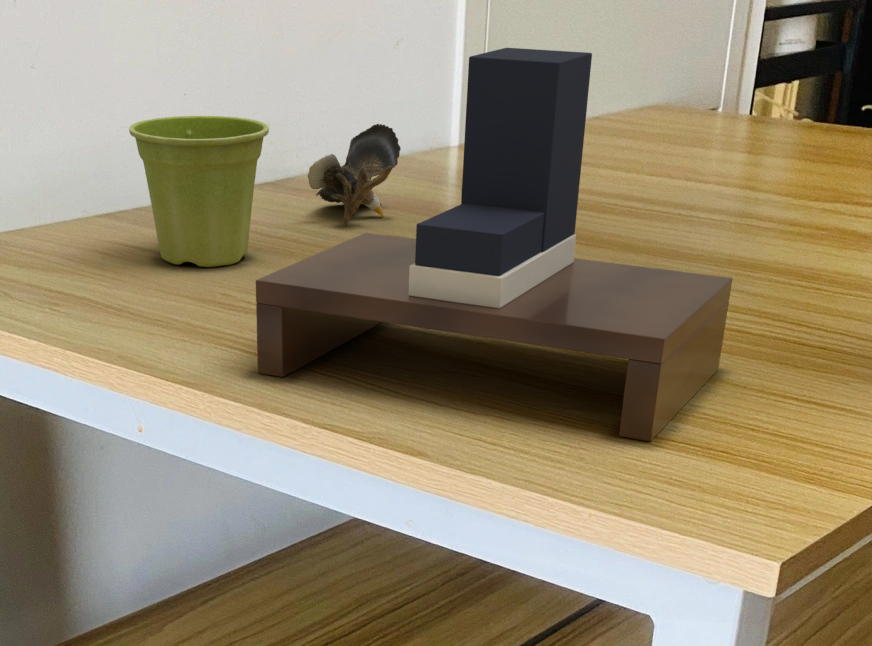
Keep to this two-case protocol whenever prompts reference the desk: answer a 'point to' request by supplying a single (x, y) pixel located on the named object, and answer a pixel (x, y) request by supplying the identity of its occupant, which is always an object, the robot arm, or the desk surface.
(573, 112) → the boot
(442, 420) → the desk surface
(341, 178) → the eagle figurine
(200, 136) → the plant pot
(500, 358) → the desk surface
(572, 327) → the monitor riser stand
